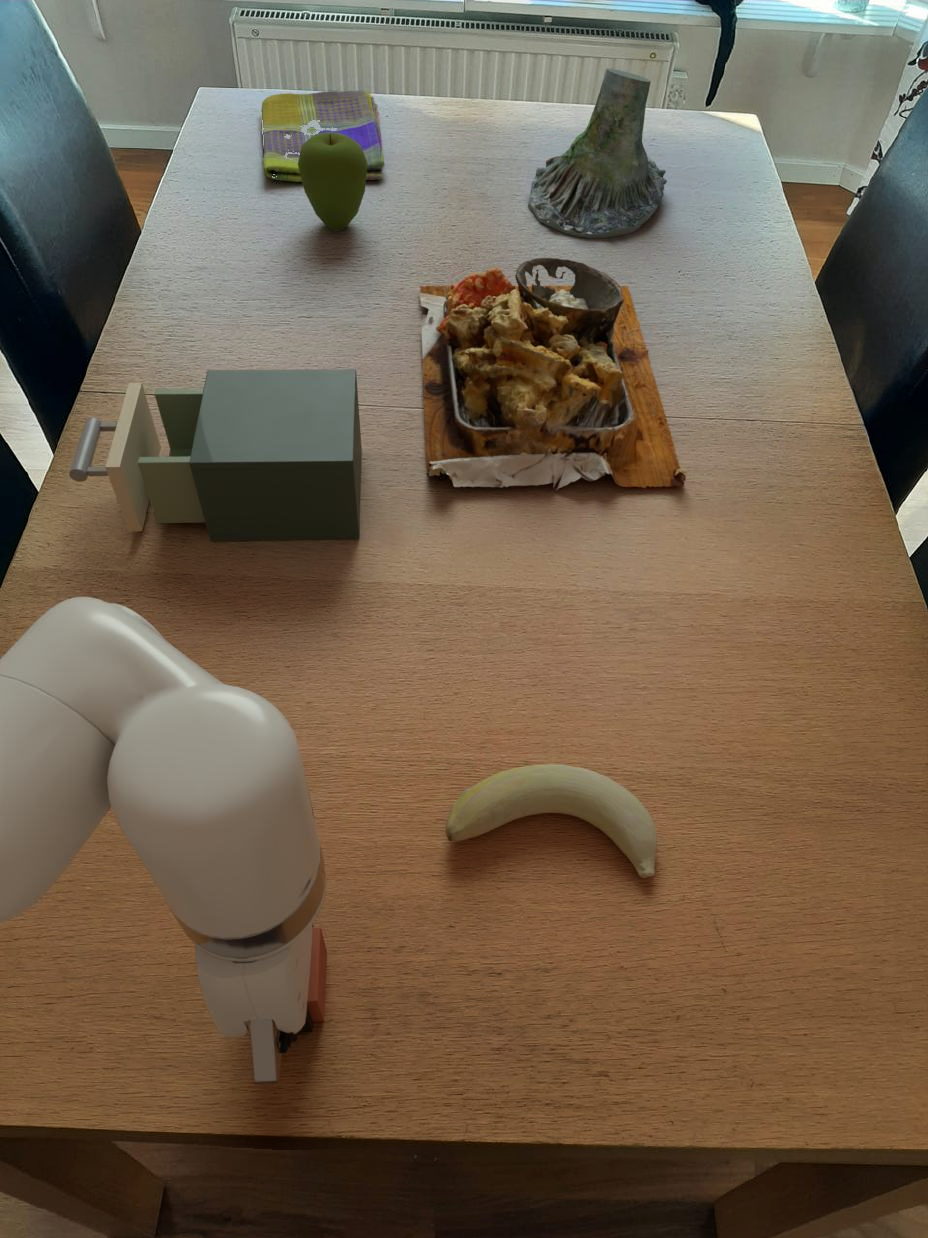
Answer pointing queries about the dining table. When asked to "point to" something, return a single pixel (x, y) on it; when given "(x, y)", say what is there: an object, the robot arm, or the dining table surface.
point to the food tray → (541, 383)
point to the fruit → (558, 807)
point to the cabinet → (279, 455)
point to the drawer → (147, 457)
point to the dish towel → (333, 109)
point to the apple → (333, 177)
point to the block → (317, 976)
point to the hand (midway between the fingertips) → (290, 985)
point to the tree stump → (603, 168)
